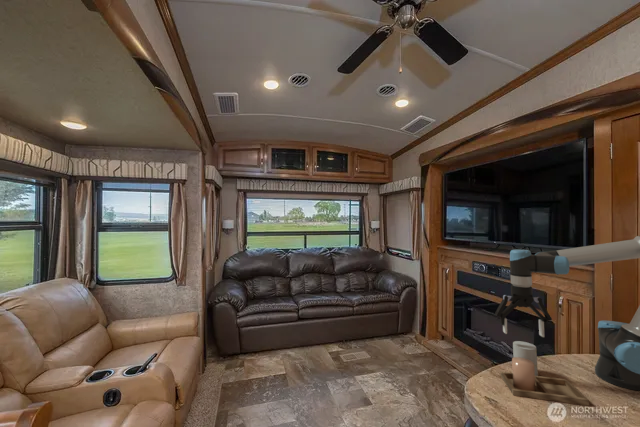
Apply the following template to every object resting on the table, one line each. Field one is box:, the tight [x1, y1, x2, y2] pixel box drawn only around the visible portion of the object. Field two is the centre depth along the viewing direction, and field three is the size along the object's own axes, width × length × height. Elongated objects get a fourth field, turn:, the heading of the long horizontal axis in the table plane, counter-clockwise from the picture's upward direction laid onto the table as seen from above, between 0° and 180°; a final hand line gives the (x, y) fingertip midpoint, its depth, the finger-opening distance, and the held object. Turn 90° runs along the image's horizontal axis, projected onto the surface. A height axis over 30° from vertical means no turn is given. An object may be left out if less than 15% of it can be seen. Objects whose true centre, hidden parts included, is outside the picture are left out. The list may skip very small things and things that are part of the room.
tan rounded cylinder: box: [511, 356, 536, 392], centre depth 105 cm, size 7×7×10 cm
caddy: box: [500, 371, 590, 407], centre depth 104 cm, size 23×13×2 cm, turn 74°
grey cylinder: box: [512, 340, 539, 376], centre depth 116 cm, size 8×8×12 cm
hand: (523, 334), depth 117 cm, fingers open, 13 cm apart
